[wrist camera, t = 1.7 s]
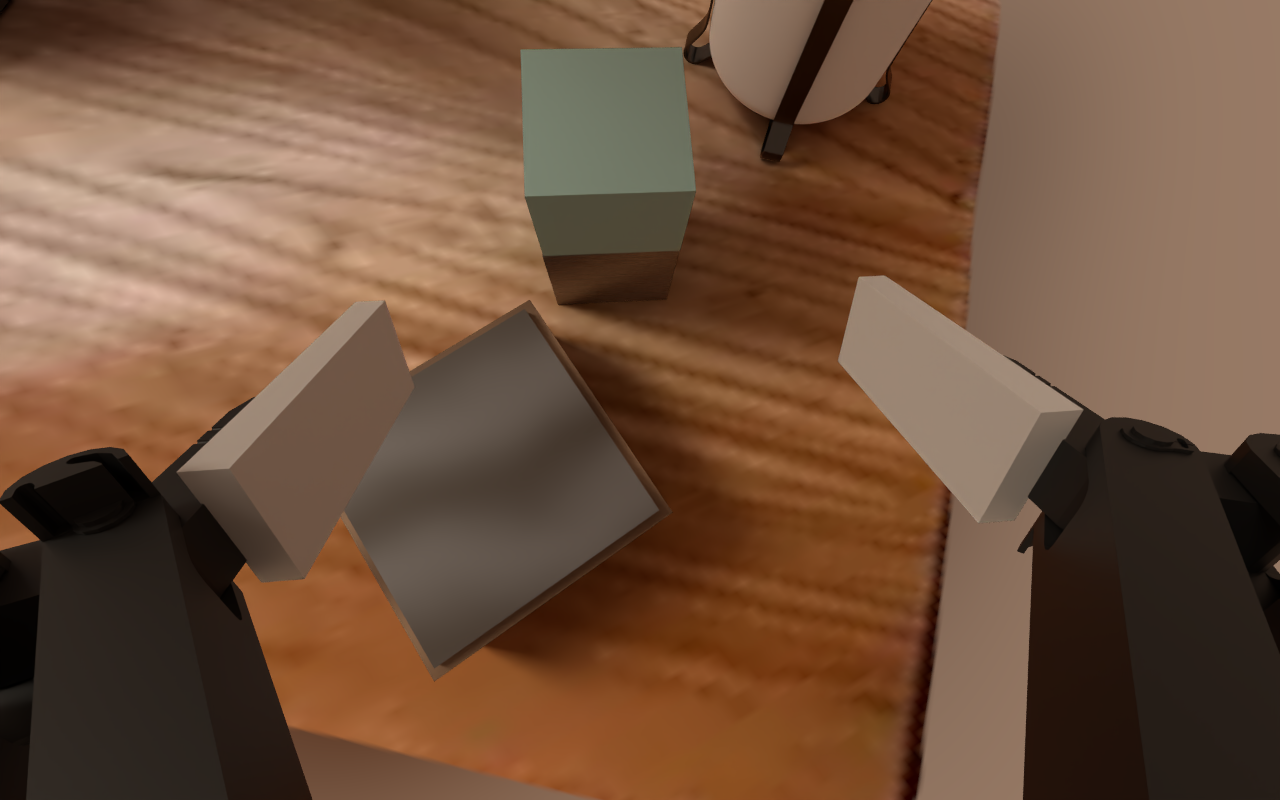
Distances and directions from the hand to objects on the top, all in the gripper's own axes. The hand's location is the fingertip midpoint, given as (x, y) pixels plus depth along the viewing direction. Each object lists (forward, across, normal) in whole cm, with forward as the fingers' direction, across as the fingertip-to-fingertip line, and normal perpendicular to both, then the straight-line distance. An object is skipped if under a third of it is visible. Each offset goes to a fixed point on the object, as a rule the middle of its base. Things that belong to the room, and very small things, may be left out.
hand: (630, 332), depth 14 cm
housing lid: (+14, 0, +1) cm, 14 cm away
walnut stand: (+9, -7, -14) cm, 18 cm away
